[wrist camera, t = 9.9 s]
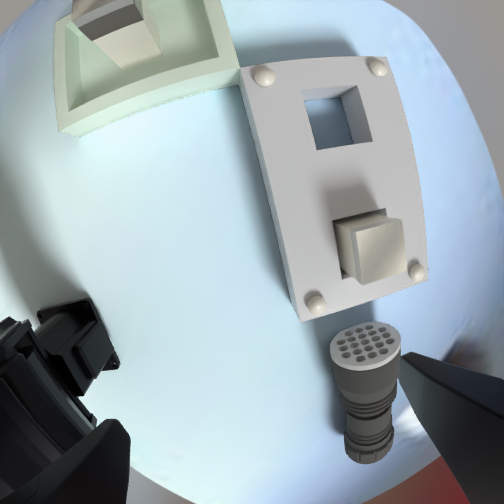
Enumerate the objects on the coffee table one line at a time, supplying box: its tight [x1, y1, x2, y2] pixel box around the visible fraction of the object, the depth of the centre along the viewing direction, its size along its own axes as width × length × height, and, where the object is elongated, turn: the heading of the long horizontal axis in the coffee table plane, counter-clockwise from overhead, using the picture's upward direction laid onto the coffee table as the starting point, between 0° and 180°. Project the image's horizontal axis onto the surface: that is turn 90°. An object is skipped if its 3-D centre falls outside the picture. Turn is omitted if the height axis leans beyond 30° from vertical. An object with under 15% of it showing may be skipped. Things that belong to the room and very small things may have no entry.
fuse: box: [332, 212, 407, 286], centre depth 17 cm, size 3×3×6 cm
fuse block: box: [239, 56, 428, 322], centre depth 17 cm, size 10×16×3 cm, turn 14°
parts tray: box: [54, 0, 240, 137], centre depth 14 cm, size 12×10×3 cm
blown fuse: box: [72, 0, 163, 71], centre depth 11 cm, size 3×3×8 cm
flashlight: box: [330, 322, 401, 464], centre depth 21 cm, size 15×5×5 cm, turn 16°
